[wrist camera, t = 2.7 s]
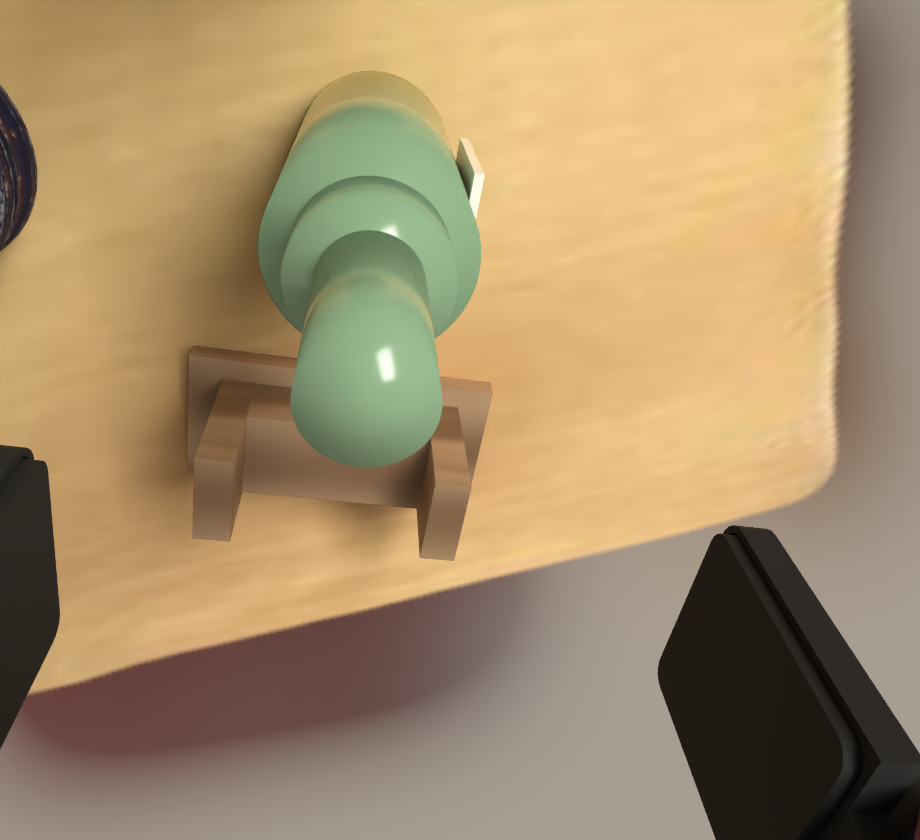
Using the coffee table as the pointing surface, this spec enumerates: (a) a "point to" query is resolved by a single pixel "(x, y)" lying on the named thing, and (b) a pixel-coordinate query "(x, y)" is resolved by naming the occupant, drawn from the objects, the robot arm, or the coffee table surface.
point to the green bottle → (371, 264)
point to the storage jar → (15, 171)
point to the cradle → (303, 468)
